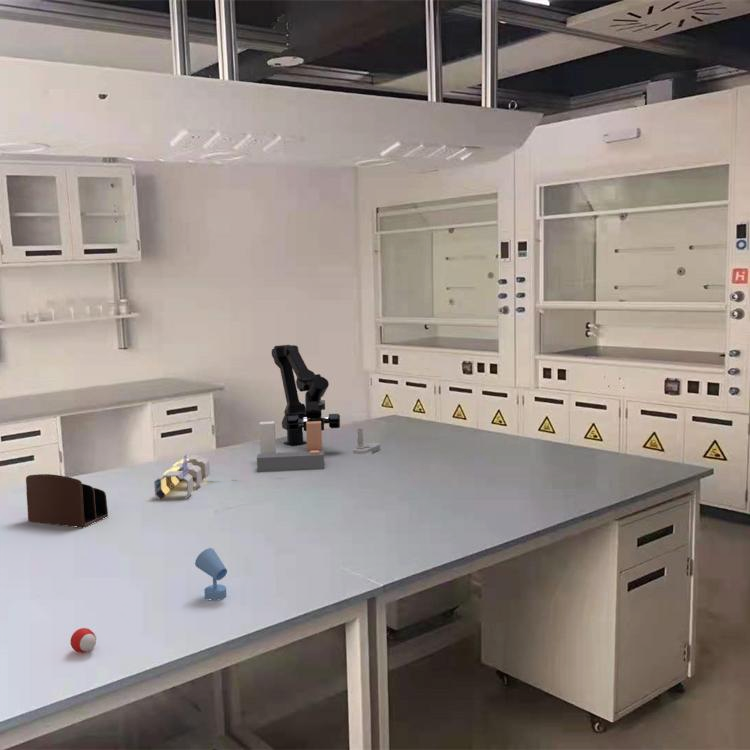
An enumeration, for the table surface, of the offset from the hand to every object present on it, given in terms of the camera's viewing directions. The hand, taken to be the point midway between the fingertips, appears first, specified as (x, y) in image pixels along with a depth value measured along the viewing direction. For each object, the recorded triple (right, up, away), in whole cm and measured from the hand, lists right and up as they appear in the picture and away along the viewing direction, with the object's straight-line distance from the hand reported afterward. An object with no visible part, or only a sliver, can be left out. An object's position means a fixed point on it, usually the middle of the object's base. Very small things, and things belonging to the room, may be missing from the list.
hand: (314, 442), depth 278 cm
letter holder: (-65, -17, -55) cm, 87 cm away
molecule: (-31, -27, -133) cm, 139 cm away
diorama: (-39, -13, -27) cm, 49 cm away
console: (-7, -8, -7) cm, 13 cm away
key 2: (+1, -7, -6) cm, 9 cm away
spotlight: (-13, -23, -110) cm, 114 cm away
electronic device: (+18, -5, +12) cm, 23 cm away
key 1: (-15, -7, -4) cm, 17 cm away
